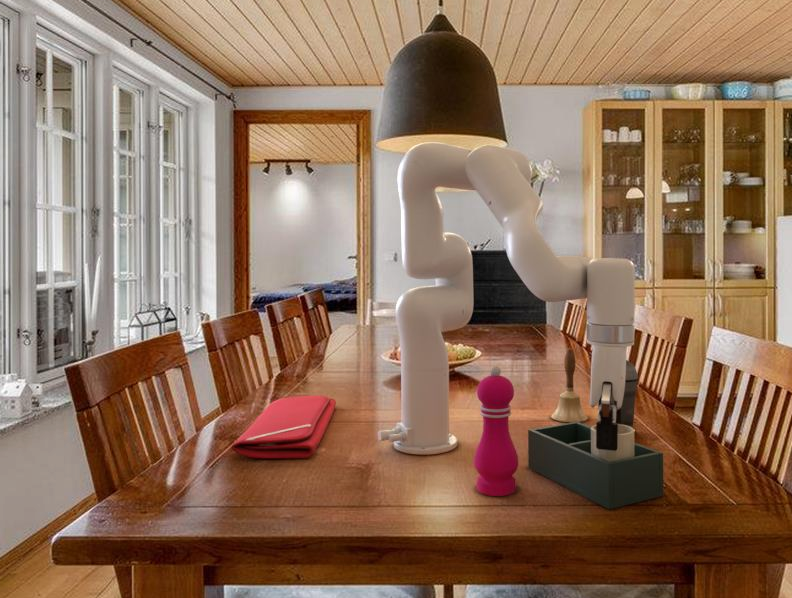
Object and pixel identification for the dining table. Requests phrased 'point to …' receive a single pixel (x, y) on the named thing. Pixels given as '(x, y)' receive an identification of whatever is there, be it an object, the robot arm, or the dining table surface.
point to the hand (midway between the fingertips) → (609, 440)
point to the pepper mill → (495, 437)
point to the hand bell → (569, 396)
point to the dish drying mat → (287, 428)
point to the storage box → (594, 466)
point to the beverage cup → (629, 395)
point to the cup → (624, 444)
